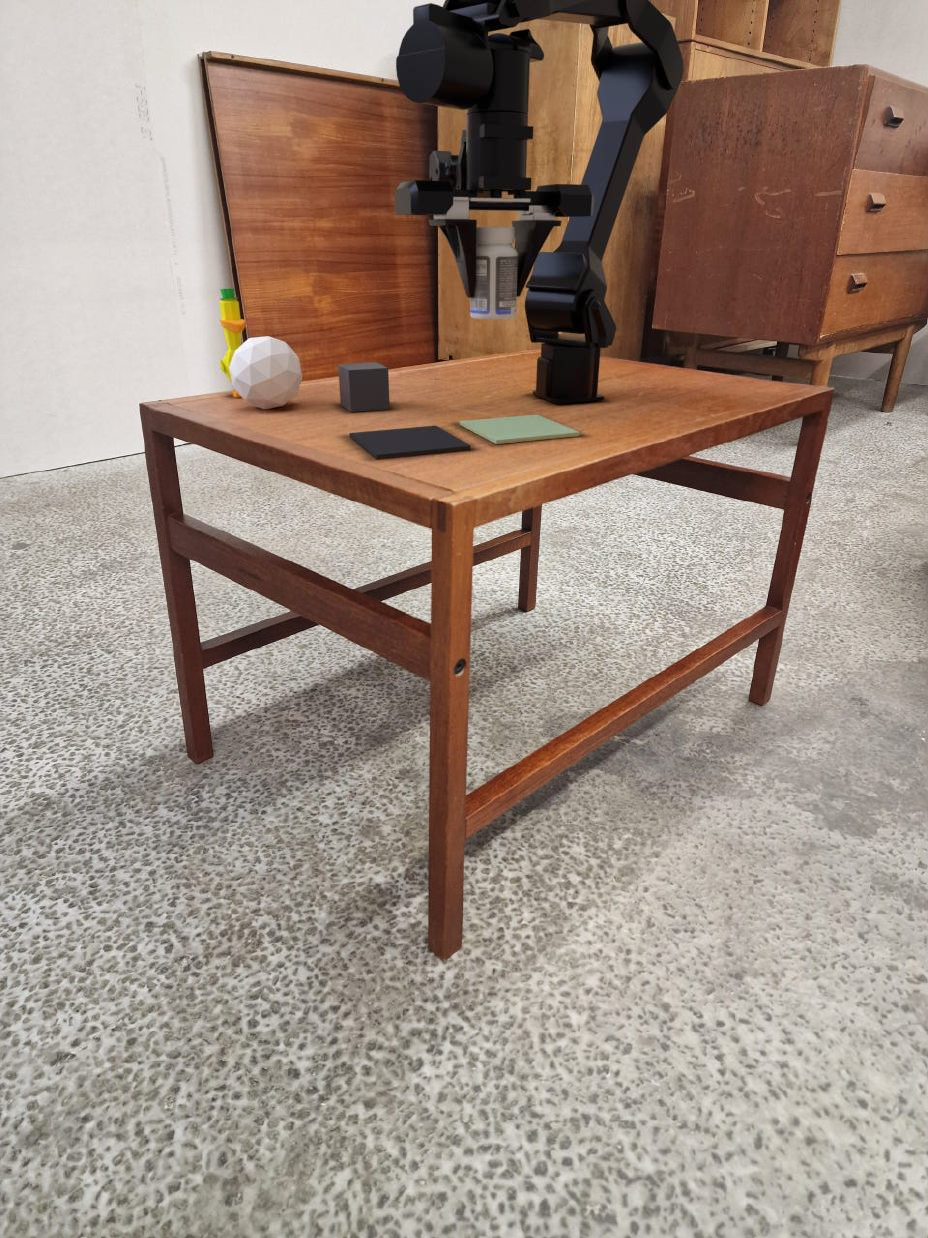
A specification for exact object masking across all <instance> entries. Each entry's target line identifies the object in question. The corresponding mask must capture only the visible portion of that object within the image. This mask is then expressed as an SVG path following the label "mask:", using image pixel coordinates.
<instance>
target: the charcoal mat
mask: <svg viewBox="0 0 928 1238" xmlns="http://www.w3.org/2000/svg"><path fill="white" fill-rule="evenodd" d="M348 436H349V438H350V439H351V440H352V441H354V442H355V443H356V444H358V446H360V448H362V449H364V450H365V451H366V452H367V453H369V454H370V455H371V456H372V457H373V458H375V459H376V460H381V459H392V458H402V457H411V456H421V455H432V454H442V453H443V454H444V453H452V452H460V451H470V450H471V449H472V448H471V445H470V444H469V443H467V442H465V441H464V440H462V439H460V438H458V437H456V436H455V435H453V434H451V433H449V432H448V431H446V430H444V429H443V428H441V427H439V426H437V425H428V426H427V425H426V426H414V427H403V428H392V429H391V428H390V429H380V430H369V431H358V432H357V431H356V432H349V433H348Z"/></svg>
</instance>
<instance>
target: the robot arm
mask: <svg viewBox="0 0 928 1238" xmlns="http://www.w3.org/2000/svg"><path fill="white" fill-rule="evenodd" d="M535 20H542V21H551V22H552V21H553V22H561V23H562V22H564V23H572V24H581V25H588V26H589V28H590V31H591V32H592V35H593V36H592V45H591V51H590V52H591V53H590V63H591V66H592V67H593V70H594V73H595V75H596V77H597V80H598V82H599V83H598V85H597V86H598V87H597V91H596V96H597V101H598V105H599V109H600V114H601V123H600V126H599V128H598V132H597V135H596V138H595V141H594V144H593V147H592V150H591V153H590V155H589V158H588V161H587V164H586V167H585V170H584V173H583V176H582V178H581V179H582V180H581V183H580V184H574V183H573V184H572V183H554V184H553V183H552V184H545V185H537V187H536V190H532V177H527V162H528V161H527V158H528V141H530V140H534V125H533V126H532V125H529V104H530V103H529V100H530V73H531V68H530V67H531V63H535V62H542V61H543V60H544V59H545V52H544V50H543V49H542V47H541V45H540V44H539V43H538V42H537V41H536V40H535V38H534V37H533V35H532V32H531V30H530V29H529V28H525V29H519V30H514V31H511V32H510V33H509V34H505V33H502V32H498V31H502V30H508V29H512V28H516V27H517V26H518V25H519V24H522V23H527V22H532V21H535ZM621 25H622V26H623V25H627V26H628V28H629V30H630V32H631V33H633V34H634V35H635V37H636V38H638V39H639V40H640V42H634V43H627V44H621V45H616V46H615V47H613V44H612V42H611V39H610V37H609V28H610V27H616V26H621ZM496 31H497V32H496ZM492 32H496V33H492ZM489 33H491V34H490V35H489ZM395 68H396V69H395V71H396V78H397V81H398V86H399V88H400V89H401V91H402V94H404V96H405V97H406V98H407V99H408V100H410V101H411V102H413V103H416V104H421V105H429V106H434V107H441V108H447V109H454V110H460V111H465V110H466V115H465V117H466V124H465V125H466V127H465V128H466V129H463V130H461V138H460V149H459V153H458V154H452V152H451V151H450V150H433V151H432V152H431V154H430V155H429V166H428V167H429V170H428V171H429V174H428V175H429V176H428V177H429V180H427V179H426V180H425V179H413V180H408V181H407V180H406V181H402V182H400V184H399V185H398V186H397V187H396V189H395V193H394V211H395V216H427V215H433V219H428V222H429V226H436V227H438V228H439V230H440V231H441V232H442V234H443V236H444V237H445V239H446V241H447V243H448V245H449V247H450V251H451V253H452V254H453V258H454V261H455V264H456V267H457V270H458V273H459V277H460V280H461V283H462V286H463V289H464V293H465V295H466V297H467V298H468V299H470V298H473V297H474V291H475V284H476V236H477V227H478V221H477V220H478V219H471V218H470V211H494V212H495V211H496V212H497V211H500V212H501V211H502V212H505V211H506V212H518V220H511V227H514V228H515V239H514V246H513V248H515V249H516V250H517V253H518V265H517V298H519V297H521V295H522V293H523V290H524V288H525V289H527V291H526V294H525V298H524V312H525V318H526V324H527V329H528V335H529V341H530V343H533V344H536V343H537V344H538V343H541V344H540V356H538V357H537V359H536V378H535V379H536V380H535V390H532V396H535V397H538V398H541V399H543V400H546V401H548V402H551V403H554V404H571V403H581V402H582V403H584V402H595V401H605V395H604V394H600V393H598V390H599V378H600V377H599V376H600V364H601V363H600V362H601V349H608V348H609V347H610V346H613V345H614V344H613V343H614V340H615V335H616V331H617V324H616V323H615V320H614V318H613V316H612V314H611V312H610V310H609V307H608V305H607V303H606V300H605V298H606V295H607V290H608V283H607V280H606V278H607V277H606V274H605V269H604V265H603V258H604V255H605V253H606V249H607V248H608V247H607V246H608V244H609V240H610V238H611V234H612V232H613V229H614V226H615V223H616V220H617V218H618V214H619V211H620V208H621V205H622V203H623V199H624V197H625V194H626V191H627V188H628V185H629V181H630V179H631V176H632V173H633V170H634V168H635V164H636V161H637V158H638V155H639V152H640V150H641V147H642V144H643V141H644V138H645V137H646V135H647V134H648V133H649V132H650V131H651V130H652V129H653V128H654V127H655V126H656V125H657V124H658V123H660V121H661V120H662V119H663V118H664V117H665V116H666V115H667V113H668V111H669V110H670V107H671V105H672V103H673V101H674V98H675V96H676V94H677V92H678V90H679V87H680V85H681V82H682V80H683V76H684V57H683V53H682V51H681V47H680V45H679V42H678V39H677V35H676V32H675V30H674V27H673V23H671V21H670V20H669V19H668V18H667V17H666V16H665V15H664V14H663V13H662V12H661V11H660V10H659V9H658V7H656V6H655V5H654V4H653V3H652V2H651V1H650V0H444V3H443V5H439V4H436V3H432V2H429V3H425V4H420V5H416V6H414V7H413V8H412V24H411V26H410V27H409V28H408V29H407V30H406V32H405V34H404V35H403V37H402V39H401V42H400V46H399V50H398V55H397V56H396V58H395ZM503 193H507V196H513V198H511V197H503ZM556 218H568V221H567V224H566V227H565V230H564V233H563V236H562V239H561V242H560V244H559V245H558V247H556V248H555V250H553V251H541V250H542V248H543V247H544V245H545V243H546V242H547V239H548V238H549V236H550V234H551V232H552V231H553V229H554V228H556V227H562V220H559V219H558V220H556ZM528 278H529V279H528ZM566 333H567V334H566Z"/></svg>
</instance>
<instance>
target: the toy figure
mask: <svg viewBox="0 0 928 1238" xmlns="http://www.w3.org/2000/svg"><path fill="white" fill-rule="evenodd" d="M219 290H220V293H221V296H222V297H220V298H219V300H220V301H219V311H220V317H221V319H219V323H220V326H222V329H223V334H224V338H225V342H226V346H227V351H226V352H225V354H224V356H223V358H222V360H221V359H220V360H219V366H220V367H219V368H220V370H221V372H222V373H224V374H225V376H226V378H227V379H228V380H229V381H230V382H231V383H232V380H231V375H230V370H229V366H230V363H231V361H232V358H233V355H234V352H235V351H236V350H237V349H238V348H239V347H240V346H241V345H242V333H243V331H244V330H245V328H246V325H247V323H246V319H243V318H241V312H240V302H239V301H238V299H239V297H235V288H220V289H219ZM232 397H233V398H242V397H241V396H240V395H239V394H238V393H237V391H236V390H235V389H234V388H233V390H232Z"/></svg>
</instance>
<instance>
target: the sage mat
mask: <svg viewBox="0 0 928 1238" xmlns="http://www.w3.org/2000/svg"><path fill="white" fill-rule="evenodd" d="M459 425H460V426H462V427H463V428H465V429H467V430H468V431H471V432H472V433H475V434H476V435H478V436H480V437H482V438H484V439H485V440H487V441H489V442H491V443H492V444H494V445H502V444H512V443H525V442H533V441H544V440H553V439H563V438H571V437H572V438H573V437H580V431H578V430H576V429H573V428H571V427H568V426H566V425H564V424H562V423H559V422H556V421H554V420H552V419H549V418H547V417H544V416H542V415H540V414H526V415H514V416H513V415H512V416H503V417H492V418H490V417H489V418H481V419H480V418H479V419H468V420H460V421H459Z"/></svg>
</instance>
